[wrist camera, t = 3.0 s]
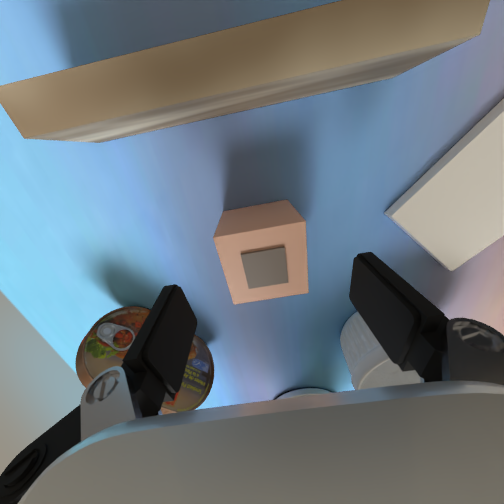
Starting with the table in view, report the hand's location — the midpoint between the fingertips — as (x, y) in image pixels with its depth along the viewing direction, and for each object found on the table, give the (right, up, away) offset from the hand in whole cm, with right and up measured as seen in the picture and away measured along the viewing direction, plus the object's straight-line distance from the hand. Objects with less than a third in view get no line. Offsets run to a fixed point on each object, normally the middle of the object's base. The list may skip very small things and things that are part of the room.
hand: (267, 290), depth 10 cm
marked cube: (0, +4, +8) cm, 9 cm away
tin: (-12, -8, +15) cm, 21 cm away
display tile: (+19, +7, +7) cm, 22 cm away
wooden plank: (-2, +13, +3) cm, 14 cm away
